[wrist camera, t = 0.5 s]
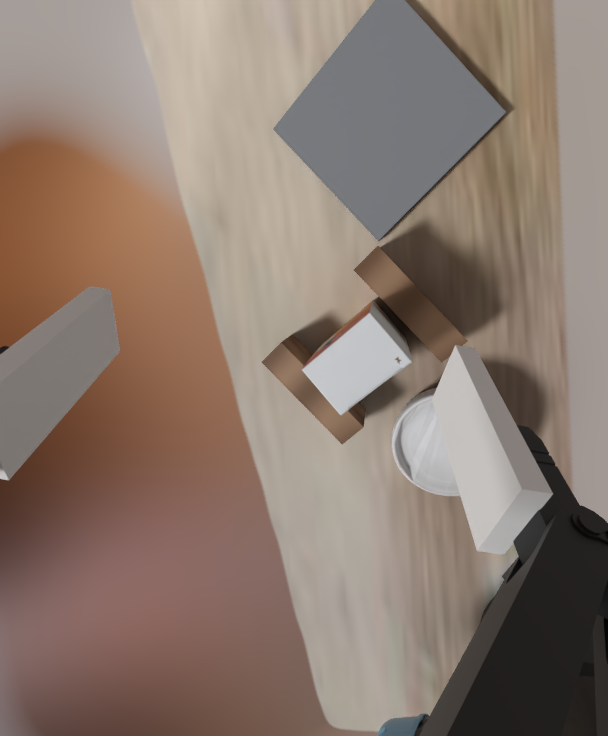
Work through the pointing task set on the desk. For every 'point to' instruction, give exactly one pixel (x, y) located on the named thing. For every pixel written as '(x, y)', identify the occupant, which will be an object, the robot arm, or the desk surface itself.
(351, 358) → the small box
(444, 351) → the walnut crossbar stand
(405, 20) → the slate grey mat
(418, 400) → the ramekin
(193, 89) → the desk surface
